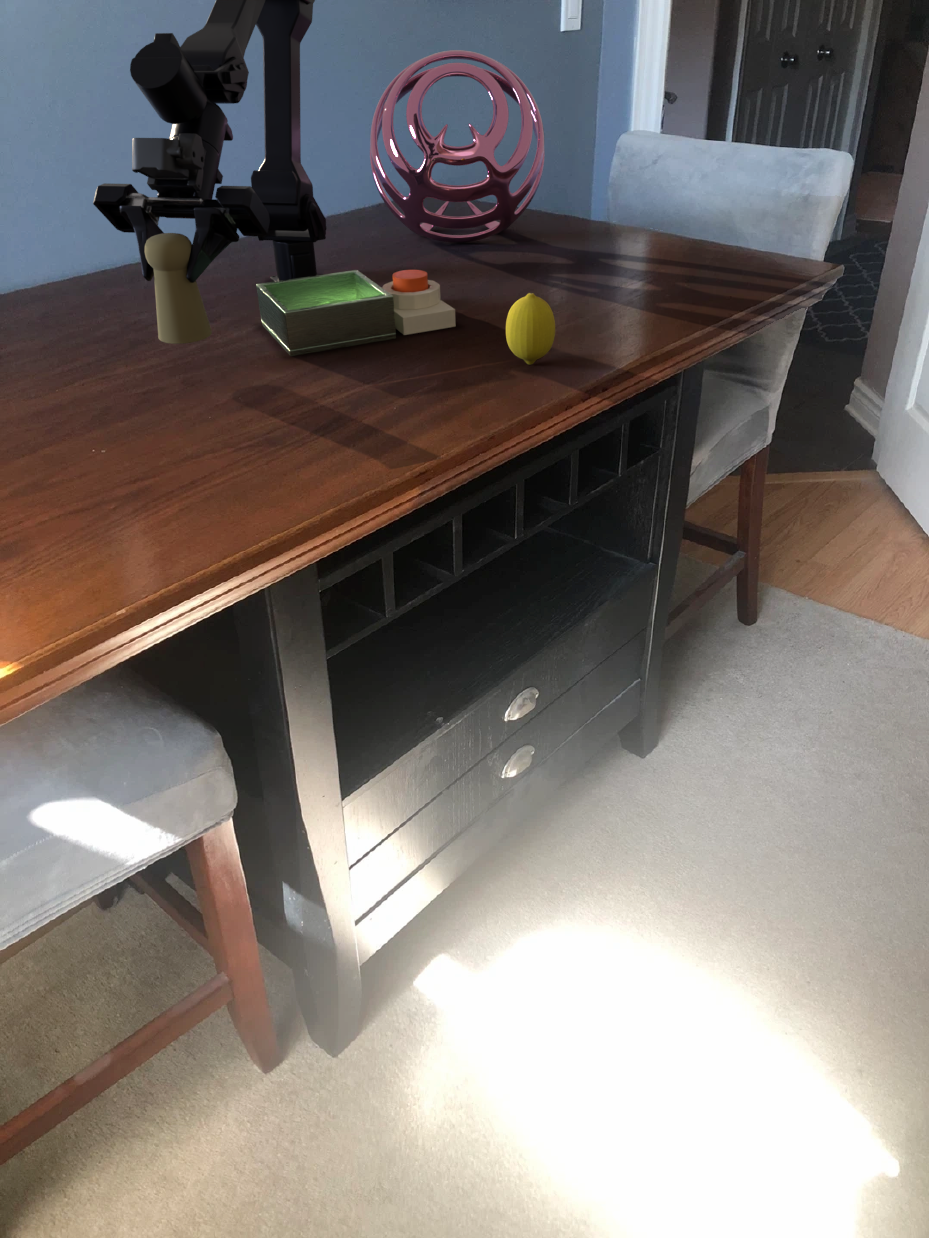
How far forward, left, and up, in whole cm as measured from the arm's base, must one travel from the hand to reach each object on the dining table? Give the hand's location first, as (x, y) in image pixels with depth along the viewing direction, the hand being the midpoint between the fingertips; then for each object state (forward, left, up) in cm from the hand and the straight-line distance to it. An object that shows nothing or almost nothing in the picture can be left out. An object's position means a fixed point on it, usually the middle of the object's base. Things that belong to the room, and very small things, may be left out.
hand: (168, 280), depth 109 cm
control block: (-5, +30, -10) cm, 32 cm away
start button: (-5, +30, -7) cm, 31 cm away
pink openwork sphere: (-42, +53, -10) cm, 68 cm away
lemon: (+17, +36, -10) cm, 41 cm away
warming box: (-5, +19, -10) cm, 22 cm away
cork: (-1, +1, -7) cm, 7 cm away
